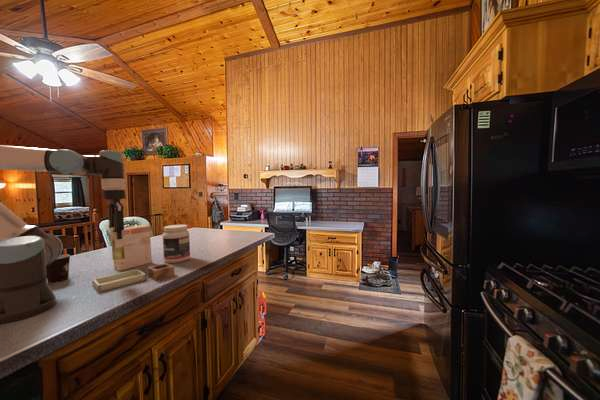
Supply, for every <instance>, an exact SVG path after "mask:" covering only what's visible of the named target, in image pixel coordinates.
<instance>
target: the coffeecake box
mask: <svg viewBox="0 0 600 400" xmlns="http://www.w3.org/2000/svg"><path fill="white" fill-rule="evenodd" d="M150 228H151V227H150V225H146V224H142V225H135V226H134V225H133V226H127V227H124V230H123V240H124V255H125V258H124V259H120V260H113V269H114V270H117V271H123V270H127V269H131V268H135V267H138V266H143V265H148V264H151V263H153V256H152V245H151V244H152V243H151V230H150Z"/></svg>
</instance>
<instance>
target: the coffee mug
mask: <svg viewBox="0 0 600 400" xmlns="http://www.w3.org/2000/svg"><path fill="white" fill-rule="evenodd" d="M70 257H71V254H60V256H59V257H58V258H57V259H56V260H55V261H54V262H52V263H51V264H49V265H47V266H46V277H47V283H48V284H54V283H55V284H56V283H59V282H63V281H66V280H68V279H69V274H70V273H69V272H70V262H71V261H70V260H71V259H70Z"/></svg>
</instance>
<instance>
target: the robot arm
mask: <svg viewBox="0 0 600 400" xmlns="http://www.w3.org/2000/svg"><path fill="white" fill-rule="evenodd" d="M123 157H124V156H123V153H121V152H120V151H118V150H100V151H99V154H98V155H84V154H83V155H82V154H80V153H78V152H76V151H74V150H72V149H66V148H65V149H64V148H62V149H61V148H60V149H50V148H41V147H40V148H39V147H26V146H15V145H4V144H0V170H1V171H4V170H5V171H22V172H23V171H24V172H43V173H44V172H46V173H61V174H62V175H64V176H81V175H82V176H87V175H88V176H90V175H91V176H96V175H97V176H99V175H100V179H101V181H100V183H101V189H102V191H101V192H102V195H101V196H102V199H103V200H109V202H108V204H107V206H106V207H107V212H108V213H107V214H108V223H109V224H108V225H109V226H108V227H109V229H110V230H111V228H112V227H115V230H113V232H114V238H115V248H118V247H124V244H123V230H124V228H125V224H124V223H125V221H124V220H125V219H124V205H123V204H122V203H121V200H124V199H126V198H127V197H126V190H125V188H126V187H125V184H126V183H127V181H126V180H125V170H124V169H125V166H124V165H125V164H124V158H123ZM63 246H64V245H63V242H62V240H61V239H60V238H59V237H58V236H56V235H54V234H51V233H46V232H45V230H43V229H42V228H41V227H39V226H38V225H30V224H28V223H26V221H24V220H23V219H21V218H20V217H19V215H17V214H15V213H14V212H13V211H12V210H10V208H8V207H7V206H6V205H4V203H2V202H1V201H0V324H5V323H12V322H16V321H19V320H23V319H27V318H30V317H33V316H36V315H40V314H41V313H44V312H46V311H48V310H50V309H51V308H53V307H54V306H55V305H56V304H57V300H56V295H55V294H54V292H53V290H52V288H51V287H50V285H49V283H48V281H47V277H46V266H47V265H49V264H51V263H52V262H54V261H55V260H56V259H57V258H58V257H59V256H60V255H62V252H63V248H64V247H63Z"/></svg>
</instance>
